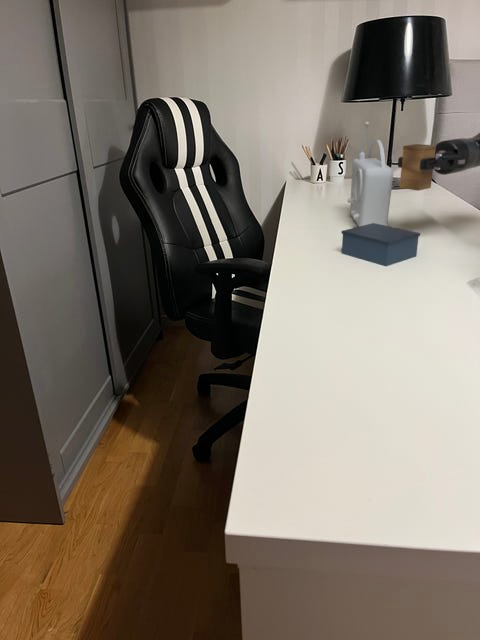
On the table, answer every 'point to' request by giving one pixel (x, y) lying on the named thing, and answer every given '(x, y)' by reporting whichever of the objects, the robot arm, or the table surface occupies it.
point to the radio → (370, 187)
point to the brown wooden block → (416, 167)
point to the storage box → (380, 243)
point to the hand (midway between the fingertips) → (410, 163)
